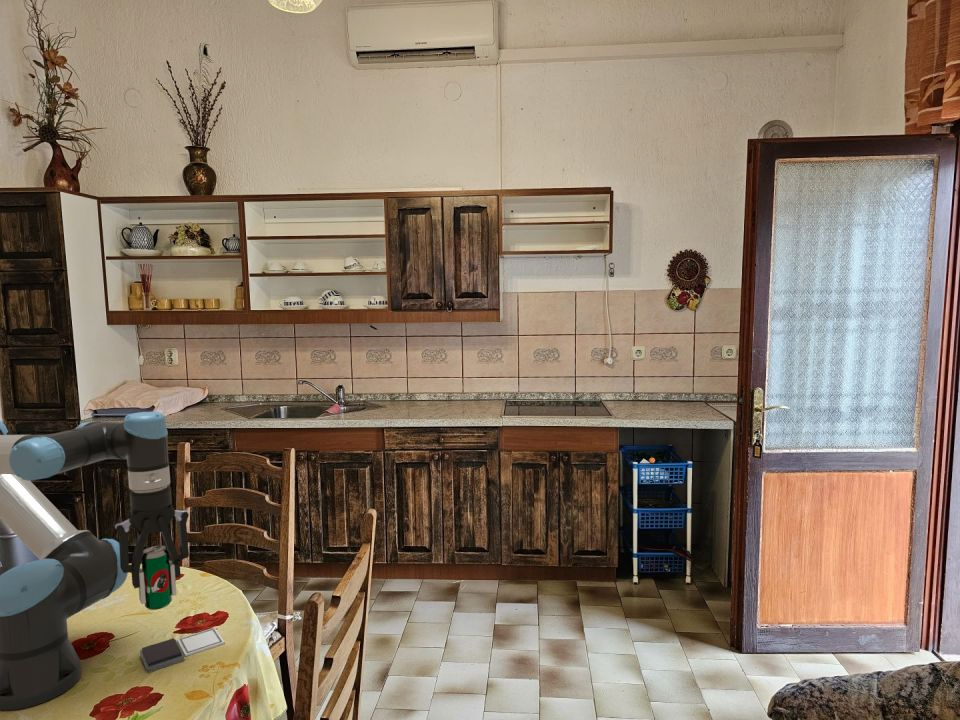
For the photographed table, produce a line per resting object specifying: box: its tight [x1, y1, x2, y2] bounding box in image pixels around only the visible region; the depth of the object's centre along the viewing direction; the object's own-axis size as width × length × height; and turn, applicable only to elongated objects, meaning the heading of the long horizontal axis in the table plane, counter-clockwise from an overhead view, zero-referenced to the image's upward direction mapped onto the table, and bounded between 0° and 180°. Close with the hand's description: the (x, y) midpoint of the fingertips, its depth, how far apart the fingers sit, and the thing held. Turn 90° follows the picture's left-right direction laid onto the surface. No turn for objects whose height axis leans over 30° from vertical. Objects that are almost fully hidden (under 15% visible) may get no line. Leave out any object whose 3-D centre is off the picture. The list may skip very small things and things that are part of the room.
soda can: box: [141, 545, 173, 611], centre depth 130 cm, size 5×5×12 cm
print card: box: [176, 627, 226, 658], centre depth 138 cm, size 8×8×1 cm
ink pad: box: [139, 637, 185, 674], centre depth 132 cm, size 7×8×2 cm
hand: (158, 596), depth 131 cm, fingers closed on soda can, 5 cm apart
